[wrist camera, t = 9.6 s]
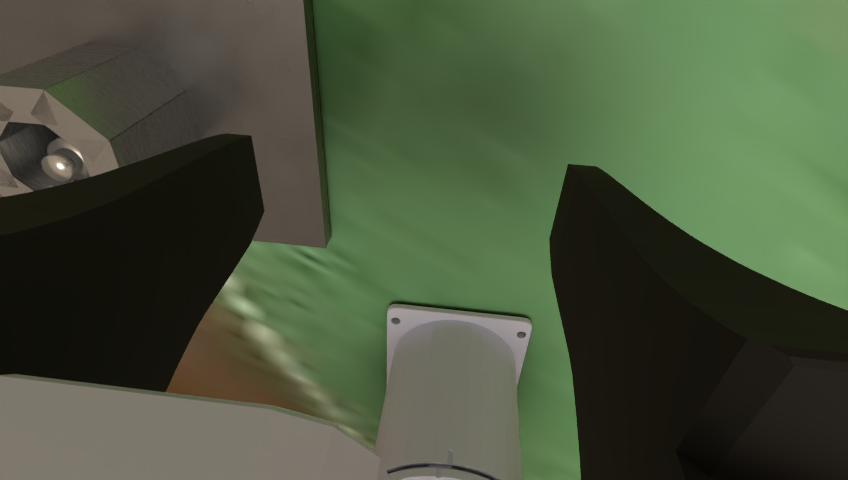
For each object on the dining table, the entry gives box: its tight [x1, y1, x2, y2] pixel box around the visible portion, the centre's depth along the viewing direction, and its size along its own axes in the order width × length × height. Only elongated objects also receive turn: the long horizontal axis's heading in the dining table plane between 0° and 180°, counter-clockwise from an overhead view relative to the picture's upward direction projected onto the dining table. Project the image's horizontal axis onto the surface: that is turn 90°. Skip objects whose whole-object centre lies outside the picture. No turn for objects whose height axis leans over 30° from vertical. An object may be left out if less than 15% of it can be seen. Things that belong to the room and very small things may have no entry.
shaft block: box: [0, 0, 331, 248], centre depth 19 cm, size 12×16×6 cm
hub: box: [0, 43, 198, 197], centre depth 19 cm, size 5×5×5 cm
